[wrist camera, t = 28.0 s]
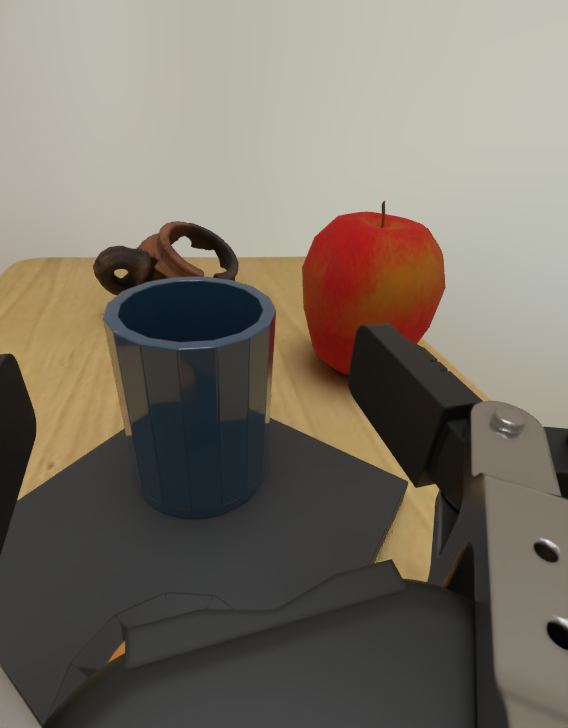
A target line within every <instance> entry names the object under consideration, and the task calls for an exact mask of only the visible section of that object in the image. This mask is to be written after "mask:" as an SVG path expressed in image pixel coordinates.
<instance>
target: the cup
mask: <svg viewBox="0 0 568 728" xmlns="http://www.w3.org/2000/svg"><path fill="white" fill-rule="evenodd" d="M275 318H276V310H275V308H274V306H273V304H272V302H271V300H270V298H269V297H268V296H266V295H265V294H263V293H262V292H260V291H259V290H257V289H256V288H254V287H252V286H249V285H246V284H242V283H239V282H236V281H233V280H227V279H219V278H211V277H176V278H175V277H174V278H168V279H162V280H156V281H150V282H146V283H143V284H141V285H138V286H135V287H133V288H130V289H127V290H125V291H123V292H121V293H120V294H119V295H118V296H116V297H115V298H114V299H112V300H111V301H110V302H108V304H107V307H106V310H105V313H104V317H103V321H104V326H105V331H106V336H107V341H108V346H109V351H110V356H111V361H112V366H113V372H114V377H115V382H116V387H117V392H118V397H119V402H120V407H121V412H122V417H123V423H124V428H125V433H126V438H127V443H128V448H129V453H130V458H131V463H132V468H133V473H134V476H135V478H136V482H137V486H138V489H139V491H140V493H141V494H142V496H143V497H144V499H145V500H146V501H147V502H148V503H149V504H151V505H152V506H153V507H154V508H156V509H158V510H159V511H161V512H163V513H166V514H168V515H171V516H175V517H180V518H188V519H199V518H208V517H213V516H217V515H220V514H224V513H226V512H229V511H231V510H233V509H235V508H237V507H238V506H240V505H242V504H243V503H244V502H245V501H247V500H248V499H249V498H250V497H251V496H252V495H253V494H254V493H255V492H256V490H257V489H258V488H259V486H260V484H261V482H262V480H263V478H264V475H265V469H266V461H267V455H268V438H269V421H270V404H271V386H272V369H273V352H274V335H275Z"/></svg>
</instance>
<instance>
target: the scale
mask: <svg viewBox="0 0 568 728" xmlns="http://www.w3.org/2000/svg"><path fill="white" fill-rule="evenodd" d="M407 486H408V482H407V481H406V480H403V479H401V478H399V477H397V476H395V475H393V474H390V473H388V472H386V471H384V470H382V469H380V468H378V467H375V466H373V465H371V464H369V463H367V462H365V461H362V460H360V459H358V458H356V457H354V456H352V455H349V454H347V453H345V452H343V451H341V450H339V449H336V448H334V447H332V446H330V445H328V444H326V443H324V442H321V441H319V440H317V439H315V438H313V437H311V436H308V435H306V434H304V433H302V432H300V431H298V430H295V429H293V428H291V427H289V426H287V425H285V424H282V423H280V422H278V421H276V420H274V419H272V418H270V421H269V438H268V455H267V461H266V469H265V475H264V478H263V480H262V482H261V484H260V486H259V488H258V489H257V490H256V492H255V493H254V494H253V495H252V496H251V497H250V498H249V499H248V500H247V501H245V502H244V503H243V504H242V505H240V506H238V507H237V508H235V509H233V510H231V511H229V512H226V513H224V514H220V515H217V516H213V517H208V518H199V519H188V518H180V517H175V516H171V515H168V514H166V513H163V512H161V511H159V510H158V509H156V508H154V507H153V506H152V505H151V504H149V503H148V502H147V501H146V500H145V499H144V497H143V496H142V494H141V493H140V491H139V489H138V486H137V482H136V478H135V476H134V473H133V468H132V463H131V458H130V453H129V448H128V443H127V438H126V433H125V428H124V429H123V430H121V431H120V432H118V433H117V434H116V435H114V436H113V437H111V438H110V439H108V440H107V441H105V442H104V443H102V444H101V445H99V446H98V447H96V448H95V449H93V450H92V451H90V452H89V453H87V454H86V455H84V456H83V457H81V458H80V459H79V460H77V461H76V462H74V463H73V464H71V465H70V466H68V467H67V468H65V469H64V470H62V471H61V472H59V473H58V474H56V475H55V476H53V477H52V478H50V479H49V480H47V481H46V482H44V483H43V484H42V485H40V486H39V487H37V488H36V489H34V490H33V491H31V492H30V493H28V494H27V495H25V496H24V497H22V498H21V499H19V500H18V501H17V502H16V505H15V508H14V512H13V515H12V518H11V522H10V525H9V529H8V532H7V535H6V539H5V542H4V545H3V549H2V552H1V555H0V661H1V662H2V664H3V665H4V667H5V668H6V670H7V671H8V673H9V674H10V676H11V677H12V679H13V680H14V682H15V683H16V684H17V686H18V687H19V689H20V690H21V692H22V693H23V695H24V696H25V698H26V699H27V701H28V702H29V703H30V705H31V706H32V708H33V709H34V711H35V712H36V714H37V715H38V717H39V718H40V719H41V721H42V722H43V724H44V723H45V722H46V720H47V719H48V718H49V717H50V715H51V714H52V713H53V712H54V710H55V709H56V708H57V707H58V706H59V705H60V704H61V703H62V702H63V701H64V700H65V699H66V698H67V697H68V696H69V695H70V694H71V693H72V692H73V691H74V690H75V689H76V688H77V687H78V686H79V685H81V684H82V683H83V682H84V681H85V680H86V679H87V678H89V677H90V676H91V675H92V674H93V673H95V672H96V671H98V670H99V669H100V668H102V667H103V666H105V665H106V664H107V663H108V661H109V660H110V658H111V657H112V655H113V654H114V652H115V651H116V650H117V649H118V647H119V646H120V645H121V644H122V643H123V642H124V641H125V629H126V628H130V627H134V626H138V625H142V624H146V623H149V622H153V621H157V620H161V619H165V618H169V617H172V616H176V615H180V614H184V613H188V612H192V611H195V610H199V609H235V610H271V609H276V608H279V607H281V606H283V605H284V604H286V603H288V602H289V601H291V600H293V599H294V598H296V597H298V596H299V595H301V594H303V593H304V592H306V591H308V590H309V589H311V588H313V587H314V586H316V585H318V584H319V583H321V582H323V581H324V580H326V579H328V578H329V577H331V576H333V575H334V574H337V573H341V572H345V571H349V570H353V569H357V568H360V567H364V566H368V565H372V564H373V563H374V561H375V559H376V557H377V555H378V552H379V550H380V548H381V546H382V544H383V542H384V539H385V537H386V535H387V533H388V531H389V529H390V526H391V524H392V522H393V520H394V518H395V516H396V513H397V511H398V509H399V507H400V505H401V503H402V500H403V498H404V495H405V492H406V489H407Z"/></svg>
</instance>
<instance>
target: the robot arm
mask: <svg viewBox="0 0 568 728" xmlns="http://www.w3.org/2000/svg"><path fill="white" fill-rule="evenodd" d="M348 383H349V389H350V392H351V395H352V397H353V398H354V400H355V401H356V403H357V404H358V405H359V407H360V408H361V410H362V411H363V413H364V414H365V415H366V417H367V418H368V420H369V421H370V423H371V424H372V426H373V427H374V428H375V430H376V431H377V433H378V434H379V436H380V437H381V439H382V440H383V441H384V443H385V444H386V446H387V447H388V449H389V450H390V452H391V453H392V454H393V456H394V457H395V459H396V460H397V462H398V463H399V465H400V466H401V467H402V469H403V470H404V472H405V473H406V475H407V476H408V477H409V479H410V480H411V482H412V483H413V485H414V486H415V488H418V487H422V486H427V485H432V484H436V485H437V486H438V488H439V489H440V490H439V492H438V495H437V497H436V503H435V516H434V529H433V542H432V555H431V566H430V572H429V577H428V581H427V582H423V581H417V580H410V579H402V577H401V575H400V574H399V572H398V570H397V568H396V566H395V564H394V562H393V560H392V559H391V560H387V561H383V562H380V563H376V564H372V565H368V566H364V567H360V568H357V569H353V570H349V571H345V572H341V573H337V574H334V575H333V576H331V577H329V578H328V579H326V580H324V581H323V582H321V583H319V584H318V585H316V586H314V587H313V588H311V589H309V590H308V591H306V592H304V593H303V594H301V595H299V596H298V597H296V598H294V599H293V600H291V601H289V602H288V603H286V604H284V605H283V606H281V607H279V608H276V609H271V610H235V609H199V610H195V611H192V612H188V613H184V614H180V615H176V616H172V617H169V618H165V619H161V620H157V621H153V622H149V623H146V624H142V625H138V626H134V627H130V628H126V629H125V653H124V654H122V655H120V656H119V657H117V658H115V659H113V660H112V661H110V662H109V663H107V664H106V665H105V666H103V667H102V668H100V669H99V670H98V671H96V672H95V673H93V674H92V675H91V676H90V677H89V678H87V679H86V680H85V681H84V682H83V683H82V684H81V685H79V686H78V687H77V688H76V689H75V690H74V691H73V692H72V693H71V694H70V695H69V696H68V697H67V698H66V699H65V700H64V701H63V702H62V703H61V704H60V705H59V706H58V707H57V708H56V709H55V710H54V712H53V713H52V714H51V715H50V717H49V718H48V719H47V720H46V722H45V723H44V724H43V722H42V721H41V719H40V718H39V717H38V715H37V714H36V712H35V711H34V709H33V708H32V706H31V705H30V703H29V702H28V701H27V699H26V698H25V696H24V695H23V693H22V692H21V690H20V689H19V687H18V686H17V684H16V683H15V682H14V680H13V679H12V677H11V676H10V674H9V673H8V671H7V670H6V668H5V667H4V665H3V664H2V662H1V661H0V728H568V429H563V428H553V427H543V426H542V425H541V424H540V422H539V421H538V420H537V419H535V418H534V417H533V416H532V415H530V414H529V413H527V412H526V411H524V410H522V409H520V408H518V407H516V406H513V405H510V404H507V403H503V402H497V401H484V402H483V401H482V400H481V399H480V398H479V397H478V396H477V395H476V394H475V393H473V392H472V391H471V390H470V389H469V388H468V387H467V386H466V385H465V384H464V383H462V382H461V381H460V380H459V379H458V378H457V377H456V376H455V375H454V374H453V373H451V372H450V371H447V368H446V367H445V366H444V365H443V364H442V363H440V362H437V359H436V358H435V357H434V356H433V355H432V354H430V353H429V352H428V351H427V350H426V349H425V348H423V347H421V346H419V345H417V344H415V343H414V342H412V341H410V340H408V339H406V338H405V337H404V336H403V335H401V334H400V333H399V332H398V331H397V330H396V329H395V328H394V327H393V326H392V325H391V324H389V323H382V324H370V325H361V326H360V327H359V328H358V329H357V332H356V335H355V341H354V346H353V352H352V357H351V363H350V368H349V374H348ZM35 437H36V418H35V413H34V409H33V406H32V403H31V400H30V397H29V395H28V392H27V389H26V386H25V383H24V380H23V377H22V374H21V371H20V368H19V365H18V363H17V361H16V359H15V357H14V356H13V355H12V354H0V555H1V552H2V549H3V545H4V542H5V539H6V535H7V532H8V529H9V525H10V522H11V518H12V515H13V512H14V508H15V505H16V502H17V498H18V495H19V492H20V488H21V485H22V482H23V478H24V475H25V471H26V468H27V465H28V461H29V458H30V455H31V451H32V448H33V445H34V441H35Z"/></svg>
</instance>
